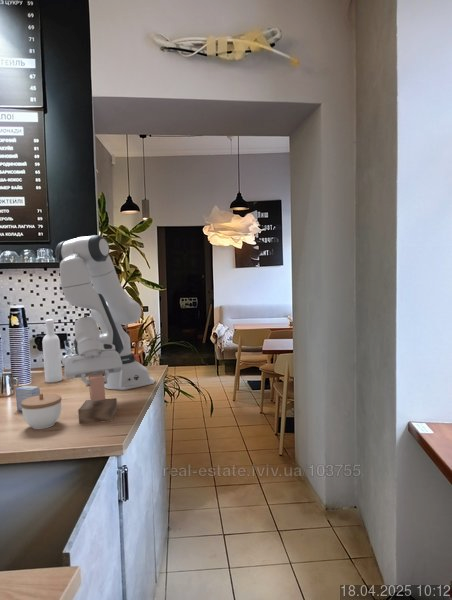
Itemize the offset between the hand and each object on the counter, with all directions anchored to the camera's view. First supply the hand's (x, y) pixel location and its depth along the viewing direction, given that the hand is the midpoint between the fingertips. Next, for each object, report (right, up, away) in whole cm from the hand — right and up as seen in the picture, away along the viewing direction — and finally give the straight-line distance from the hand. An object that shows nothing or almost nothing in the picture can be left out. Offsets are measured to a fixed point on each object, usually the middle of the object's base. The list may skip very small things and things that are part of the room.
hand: (97, 384), depth 149 cm
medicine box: (-30, -13, +13) cm, 35 cm away
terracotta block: (0, -5, +1) cm, 5 cm away
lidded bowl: (-17, -13, -5) cm, 22 cm away
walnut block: (0, -12, +1) cm, 12 cm away
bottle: (-38, -10, +57) cm, 69 cm away
